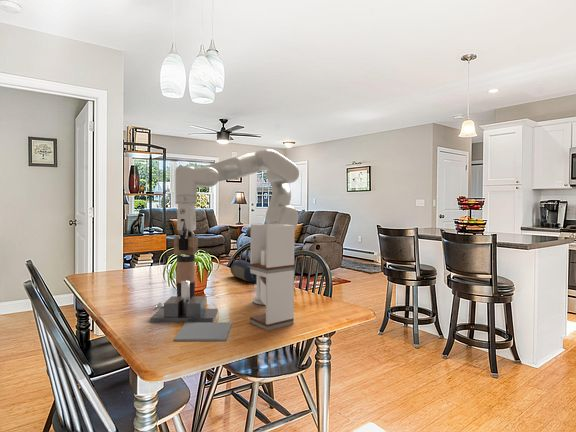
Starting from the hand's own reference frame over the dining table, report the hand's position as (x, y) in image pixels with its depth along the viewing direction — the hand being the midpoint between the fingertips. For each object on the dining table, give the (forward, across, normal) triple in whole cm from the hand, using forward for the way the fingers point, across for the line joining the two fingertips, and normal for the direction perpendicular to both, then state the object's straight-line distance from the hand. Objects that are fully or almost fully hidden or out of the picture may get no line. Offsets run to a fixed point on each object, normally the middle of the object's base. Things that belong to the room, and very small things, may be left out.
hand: (186, 248), depth 138 cm
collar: (+2, 0, 0) cm, 2 cm away
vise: (+26, 0, 0) cm, 26 cm away
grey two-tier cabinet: (+26, -6, -32) cm, 41 cm away
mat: (+26, -16, -10) cm, 32 cm away
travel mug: (+26, +22, +6) cm, 35 cm away
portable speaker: (+26, +69, -16) cm, 75 cm away
